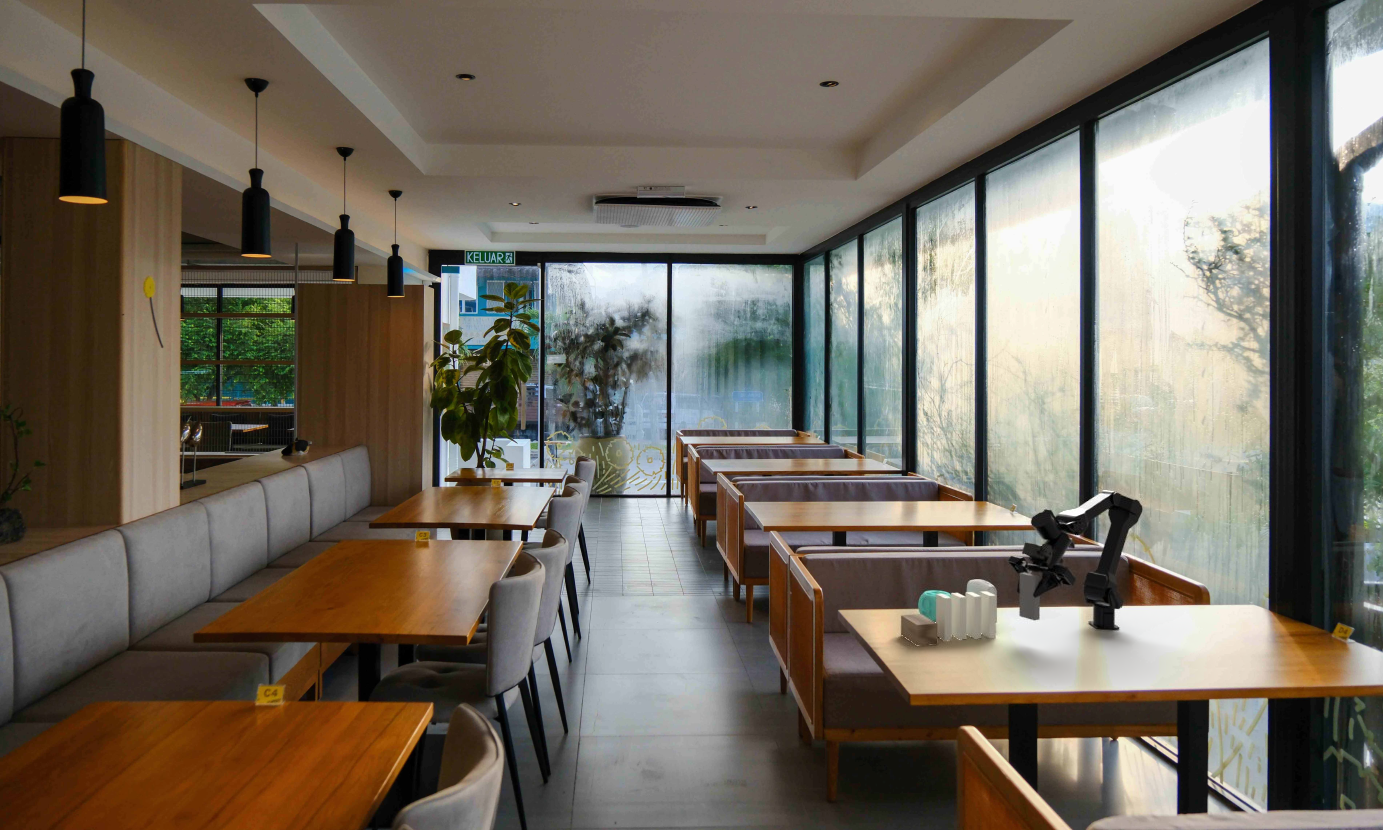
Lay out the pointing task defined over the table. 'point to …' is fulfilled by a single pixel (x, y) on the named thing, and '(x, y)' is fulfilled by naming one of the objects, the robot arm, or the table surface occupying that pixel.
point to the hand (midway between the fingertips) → (1026, 594)
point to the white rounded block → (981, 588)
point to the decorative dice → (929, 604)
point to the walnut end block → (919, 629)
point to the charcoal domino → (1029, 596)
